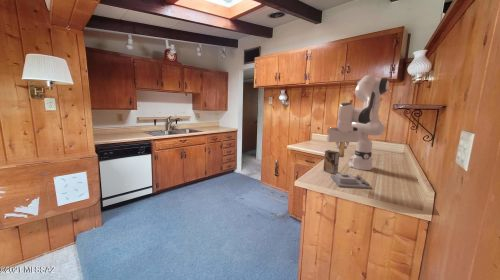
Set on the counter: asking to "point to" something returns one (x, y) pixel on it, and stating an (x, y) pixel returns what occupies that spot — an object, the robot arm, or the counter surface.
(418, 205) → the counter surface
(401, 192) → the counter surface
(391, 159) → the counter surface
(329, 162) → the coffee box
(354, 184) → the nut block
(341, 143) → the pin
